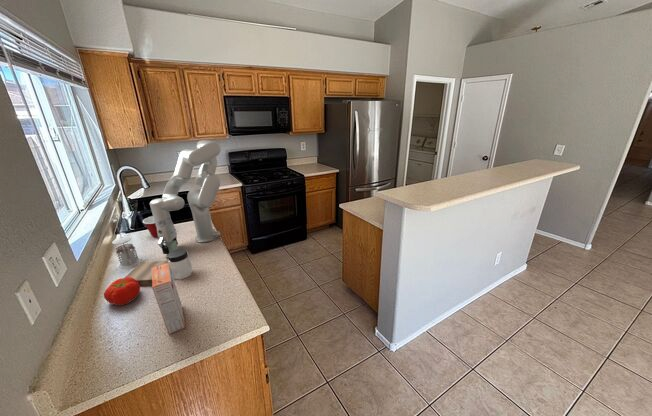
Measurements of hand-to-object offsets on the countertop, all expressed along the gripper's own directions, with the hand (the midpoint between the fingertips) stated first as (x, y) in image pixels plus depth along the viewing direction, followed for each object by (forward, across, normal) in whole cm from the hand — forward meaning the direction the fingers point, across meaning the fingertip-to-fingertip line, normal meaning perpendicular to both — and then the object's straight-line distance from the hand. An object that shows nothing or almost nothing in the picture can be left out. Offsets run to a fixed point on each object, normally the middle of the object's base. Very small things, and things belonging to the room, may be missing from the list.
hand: (171, 249), depth 146 cm
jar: (+2, -23, -16) cm, 28 cm away
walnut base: (+2, -22, 0) cm, 22 cm away
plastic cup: (+2, +22, +19) cm, 29 cm away
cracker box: (+2, -53, -26) cm, 59 cm away
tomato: (+2, -39, +1) cm, 39 cm away
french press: (+2, -10, +16) cm, 19 cm away
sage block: (+2, 0, 0) cm, 2 cm away
